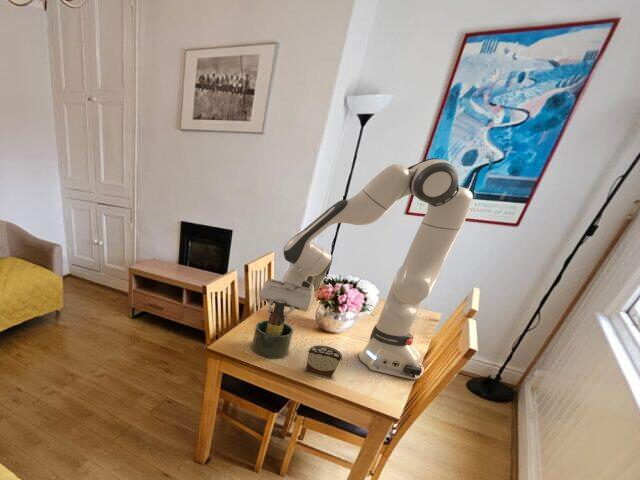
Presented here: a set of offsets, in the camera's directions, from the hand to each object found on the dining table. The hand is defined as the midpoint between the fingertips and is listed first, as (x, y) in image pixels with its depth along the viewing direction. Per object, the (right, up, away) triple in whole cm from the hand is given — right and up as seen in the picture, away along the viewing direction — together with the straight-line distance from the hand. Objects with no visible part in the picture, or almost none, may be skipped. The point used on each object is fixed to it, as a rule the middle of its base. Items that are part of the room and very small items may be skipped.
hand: (277, 314), depth 157 cm
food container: (+15, -23, -4) cm, 28 cm away
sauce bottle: (0, -12, +9) cm, 15 cm away
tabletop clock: (+36, +19, +55) cm, 68 cm away
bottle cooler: (0, -13, +10) cm, 16 cm away
